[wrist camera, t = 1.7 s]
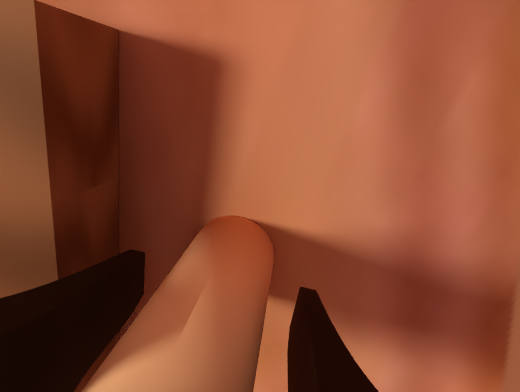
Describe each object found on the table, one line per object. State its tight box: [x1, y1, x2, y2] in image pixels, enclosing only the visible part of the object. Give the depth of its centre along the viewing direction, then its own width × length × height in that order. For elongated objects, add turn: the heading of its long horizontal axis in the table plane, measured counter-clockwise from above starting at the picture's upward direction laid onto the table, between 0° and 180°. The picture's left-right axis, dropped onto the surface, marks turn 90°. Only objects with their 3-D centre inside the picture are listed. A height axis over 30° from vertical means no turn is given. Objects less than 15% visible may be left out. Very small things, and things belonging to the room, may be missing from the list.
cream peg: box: [81, 216, 274, 392], centre depth 10 cm, size 4×4×9 cm
